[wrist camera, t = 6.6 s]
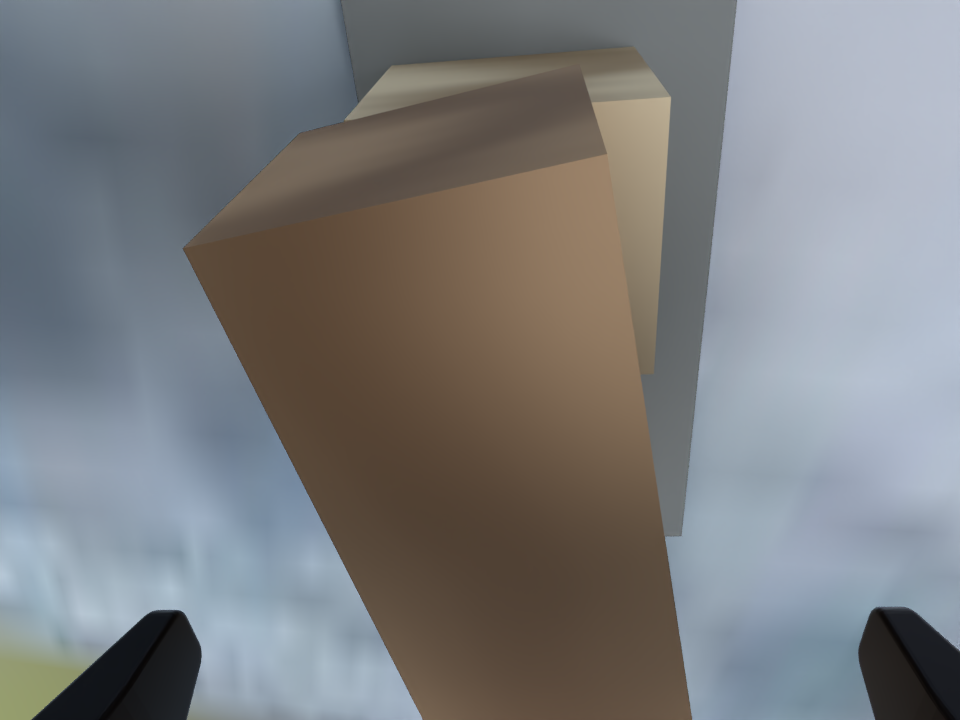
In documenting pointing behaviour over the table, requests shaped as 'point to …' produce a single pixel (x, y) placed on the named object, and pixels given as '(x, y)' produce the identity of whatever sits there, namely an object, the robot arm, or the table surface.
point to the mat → (690, 160)
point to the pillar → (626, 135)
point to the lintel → (465, 395)
